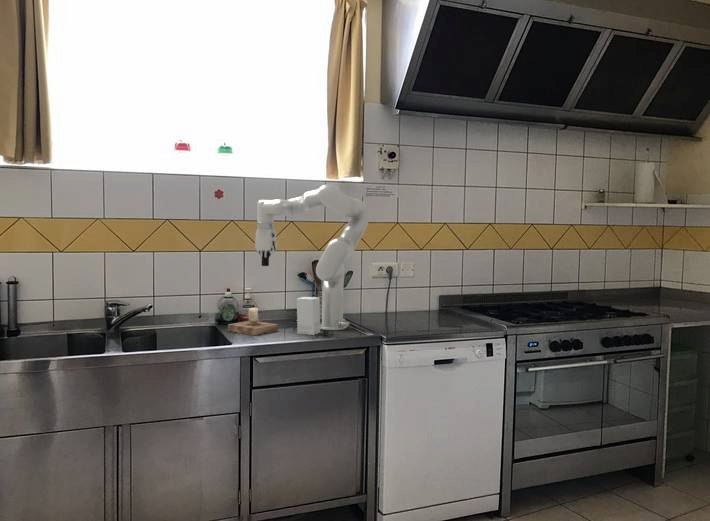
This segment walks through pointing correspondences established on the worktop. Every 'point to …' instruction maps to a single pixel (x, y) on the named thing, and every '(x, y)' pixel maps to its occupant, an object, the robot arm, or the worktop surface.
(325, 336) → the worktop surface
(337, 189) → the robot arm
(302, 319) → the skincare box
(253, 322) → the beech peg
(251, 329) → the wooden square frame
